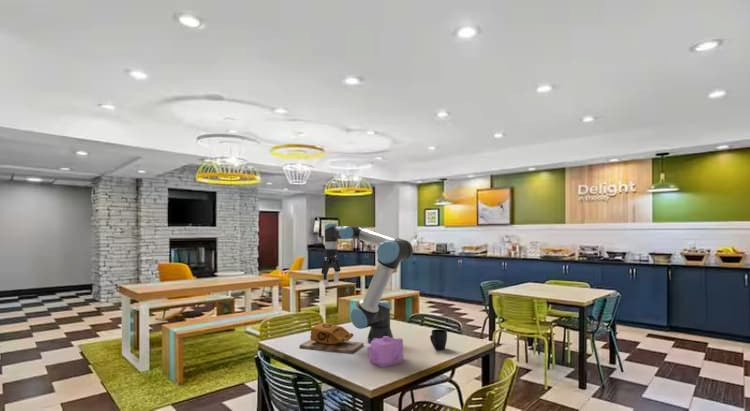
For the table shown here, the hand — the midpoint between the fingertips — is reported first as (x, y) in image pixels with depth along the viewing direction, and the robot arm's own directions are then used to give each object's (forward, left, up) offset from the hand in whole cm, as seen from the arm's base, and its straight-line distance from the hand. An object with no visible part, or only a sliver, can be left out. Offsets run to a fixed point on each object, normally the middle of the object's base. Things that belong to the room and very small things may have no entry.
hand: (331, 283), depth 246 cm
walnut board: (-8, +15, -33) cm, 37 cm away
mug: (-65, +1, -33) cm, 73 cm away
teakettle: (-46, +30, -33) cm, 64 cm away
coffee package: (+4, +12, -26) cm, 29 cm away
